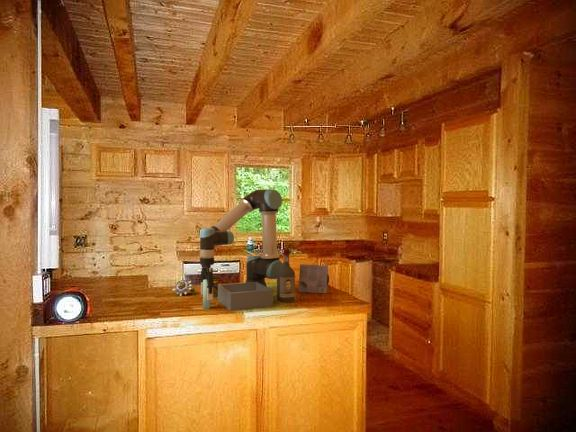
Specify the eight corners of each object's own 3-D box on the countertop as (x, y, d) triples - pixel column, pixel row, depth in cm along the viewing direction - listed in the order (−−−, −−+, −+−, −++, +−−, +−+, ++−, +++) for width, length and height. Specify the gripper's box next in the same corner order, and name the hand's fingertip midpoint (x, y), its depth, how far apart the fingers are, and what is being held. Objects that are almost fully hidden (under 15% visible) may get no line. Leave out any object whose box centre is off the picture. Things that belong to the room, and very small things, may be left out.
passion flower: (181, 305, 237) (168, 289, 234) (184, 297, 247) (173, 282, 245) (196, 295, 236) (184, 279, 233) (199, 287, 246) (187, 272, 244)
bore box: (217, 300, 227) (218, 284, 227) (256, 296, 237) (257, 281, 237) (230, 310, 205) (230, 293, 205) (272, 306, 216) (273, 289, 215)
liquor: (275, 299, 231) (276, 248, 231) (290, 298, 235) (290, 248, 234) (280, 303, 223) (281, 250, 222) (295, 301, 226) (296, 249, 225)
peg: (202, 307, 211) (202, 279, 210) (209, 306, 213) (209, 279, 212) (203, 309, 207) (204, 280, 207) (211, 308, 209) (211, 280, 209)
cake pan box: (328, 292, 253) (329, 264, 253) (328, 293, 248) (329, 265, 248) (299, 290, 255) (299, 263, 255) (298, 292, 250) (298, 264, 250)
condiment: (220, 297, 236) (220, 277, 235) (206, 298, 231) (207, 278, 231) (215, 294, 242) (215, 275, 241) (202, 296, 237) (202, 276, 237)
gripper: (194, 254, 219) (194, 292, 219) (205, 260, 196) (205, 302, 197) (208, 254, 222) (207, 291, 223) (220, 259, 199) (220, 301, 200)
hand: (206, 297), depth 210 cm, fingers open, 13 cm apart
